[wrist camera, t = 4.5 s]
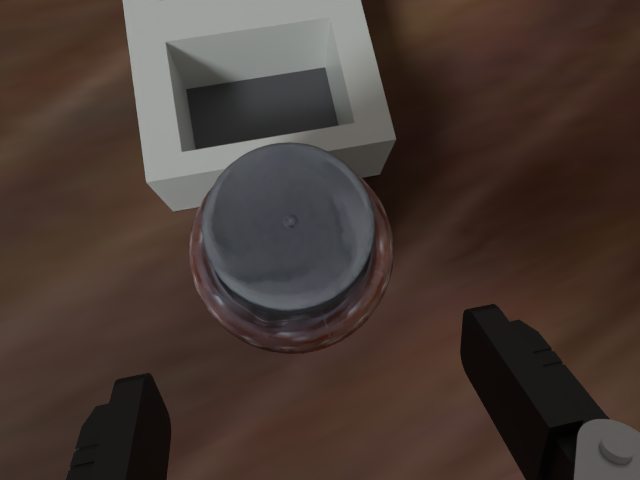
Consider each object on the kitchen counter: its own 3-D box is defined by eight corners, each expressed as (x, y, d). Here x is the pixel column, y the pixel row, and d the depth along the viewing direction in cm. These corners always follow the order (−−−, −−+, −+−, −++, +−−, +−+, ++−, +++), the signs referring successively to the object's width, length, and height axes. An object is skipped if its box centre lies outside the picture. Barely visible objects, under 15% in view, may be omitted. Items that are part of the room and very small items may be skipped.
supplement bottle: (316, 199, 23) (333, 57, 12) (385, 305, 22) (476, 261, 11) (206, 264, 22) (110, 178, 11) (273, 378, 21) (244, 413, 10)
